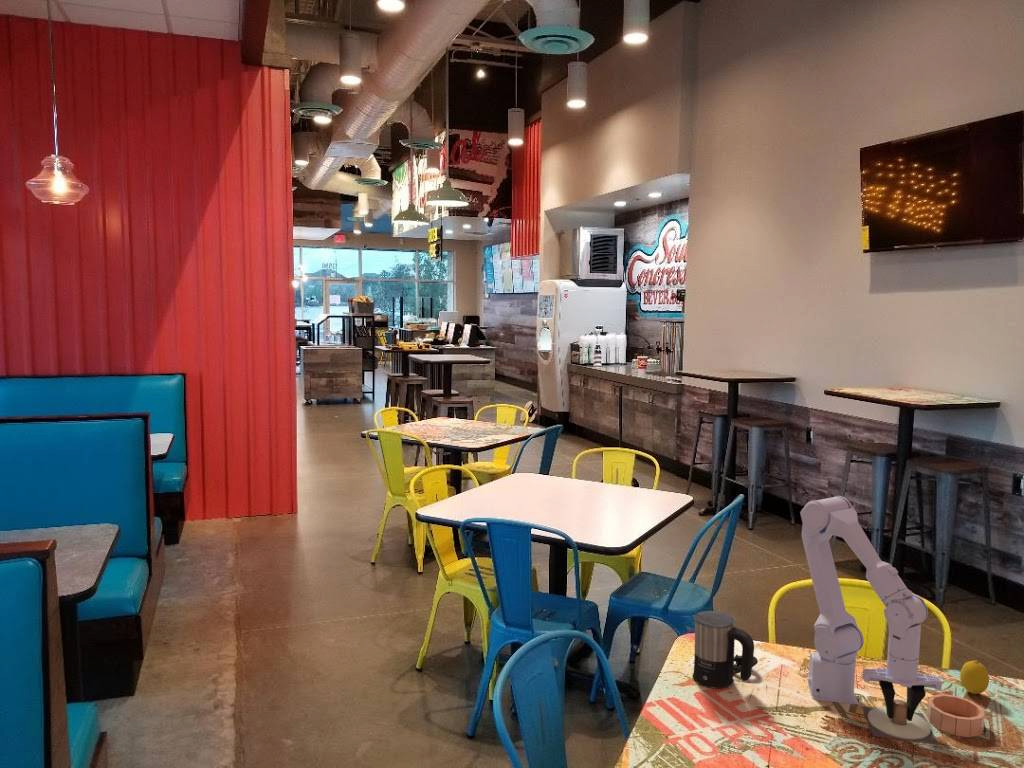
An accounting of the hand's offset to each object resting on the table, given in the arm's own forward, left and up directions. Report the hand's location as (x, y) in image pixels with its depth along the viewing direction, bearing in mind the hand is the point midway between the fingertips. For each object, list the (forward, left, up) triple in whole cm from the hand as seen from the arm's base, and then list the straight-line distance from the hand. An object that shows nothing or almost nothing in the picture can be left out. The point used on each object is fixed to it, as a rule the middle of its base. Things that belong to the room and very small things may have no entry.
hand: (899, 717), depth 161 cm
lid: (0, 0, -2) cm, 2 cm away
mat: (0, 0, -2) cm, 2 cm away
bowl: (+12, +3, -2) cm, 12 cm away
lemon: (+20, +18, -2) cm, 27 cm away
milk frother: (-34, +14, -2) cm, 37 cm away
